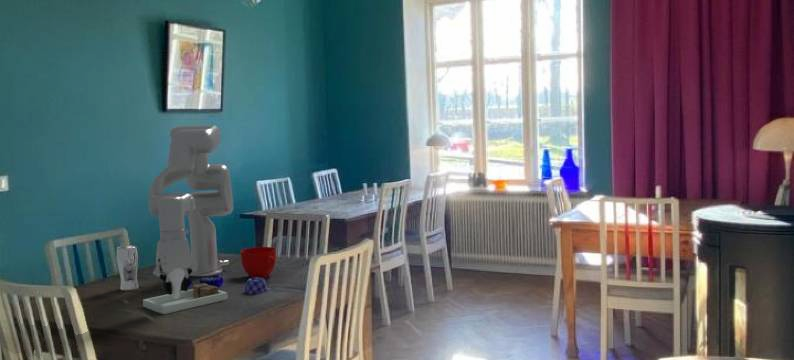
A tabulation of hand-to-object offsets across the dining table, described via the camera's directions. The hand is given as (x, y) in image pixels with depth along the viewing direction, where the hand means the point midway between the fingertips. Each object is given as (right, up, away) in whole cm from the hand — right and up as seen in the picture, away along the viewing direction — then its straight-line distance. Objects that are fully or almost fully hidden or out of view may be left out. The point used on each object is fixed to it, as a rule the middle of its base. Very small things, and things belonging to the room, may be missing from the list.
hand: (176, 291), depth 226 cm
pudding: (+23, -3, +15) cm, 27 cm away
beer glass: (-25, -4, +28) cm, 38 cm away
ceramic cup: (+20, -1, +39) cm, 44 cm away
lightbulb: (0, -2, 0) cm, 2 cm away
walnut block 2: (+9, -3, +5) cm, 11 cm away
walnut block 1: (+6, -3, +9) cm, 11 cm away
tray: (+2, -5, +2) cm, 6 cm away
